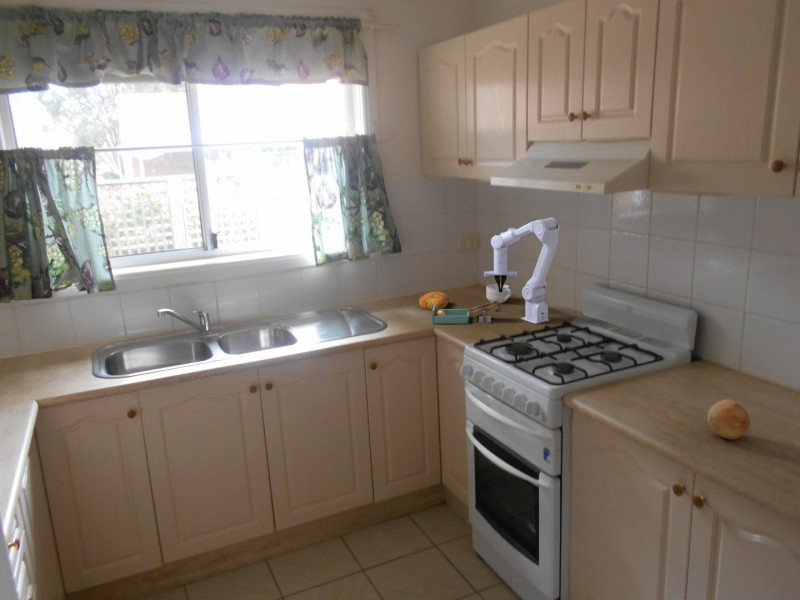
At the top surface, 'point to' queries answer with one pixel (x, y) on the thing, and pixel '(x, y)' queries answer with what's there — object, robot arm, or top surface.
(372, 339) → the top surface
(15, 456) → the top surface
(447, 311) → the tray
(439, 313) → the ball
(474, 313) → the chute
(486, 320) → the launcher stand
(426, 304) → the croissant
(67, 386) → the top surface
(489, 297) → the teacup
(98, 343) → the top surface
